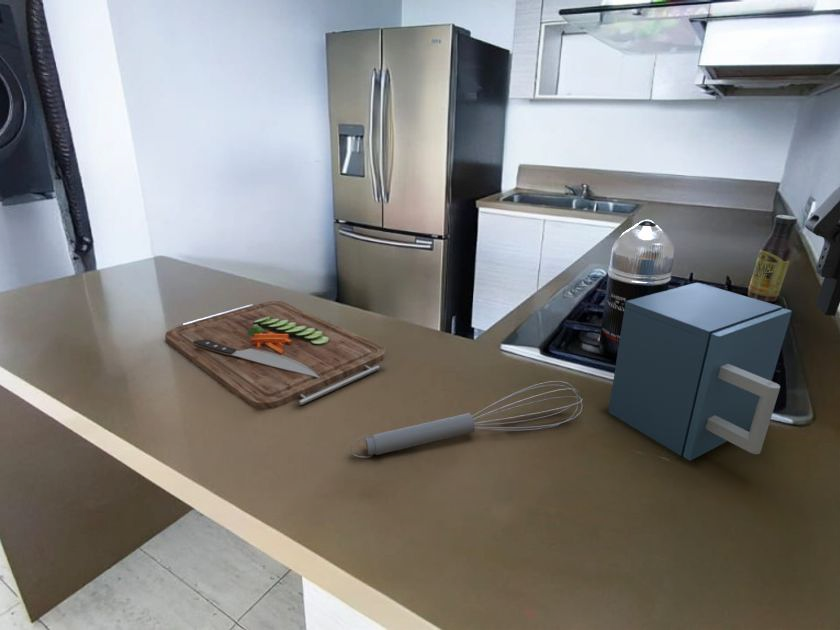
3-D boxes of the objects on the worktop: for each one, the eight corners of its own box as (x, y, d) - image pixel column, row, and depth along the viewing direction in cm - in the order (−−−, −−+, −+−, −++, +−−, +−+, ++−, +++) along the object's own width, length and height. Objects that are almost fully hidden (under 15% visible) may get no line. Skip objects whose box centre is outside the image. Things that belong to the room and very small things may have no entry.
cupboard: (749, 421, 73) (782, 306, 67) (680, 456, 66) (709, 331, 59) (675, 385, 83) (697, 282, 76) (607, 412, 76) (625, 301, 69)
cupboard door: (807, 448, 67) (849, 327, 61) (738, 490, 60) (777, 357, 53) (751, 421, 73) (784, 308, 67) (682, 456, 66) (711, 333, 59)
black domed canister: (635, 371, 88) (660, 229, 78) (585, 350, 95) (603, 219, 86) (666, 355, 93) (693, 221, 84) (617, 337, 101) (637, 212, 91)
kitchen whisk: (347, 444, 69) (345, 405, 66) (565, 407, 78) (570, 371, 75) (354, 473, 63) (352, 431, 61) (588, 429, 72) (594, 391, 70)
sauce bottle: (740, 295, 123) (760, 214, 116) (762, 293, 124) (784, 212, 117) (761, 304, 117) (784, 219, 110) (785, 302, 118) (809, 218, 111)
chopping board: (402, 361, 92) (402, 345, 91) (271, 421, 74) (268, 403, 73) (272, 301, 121) (271, 289, 120) (156, 335, 103) (153, 321, 102)
